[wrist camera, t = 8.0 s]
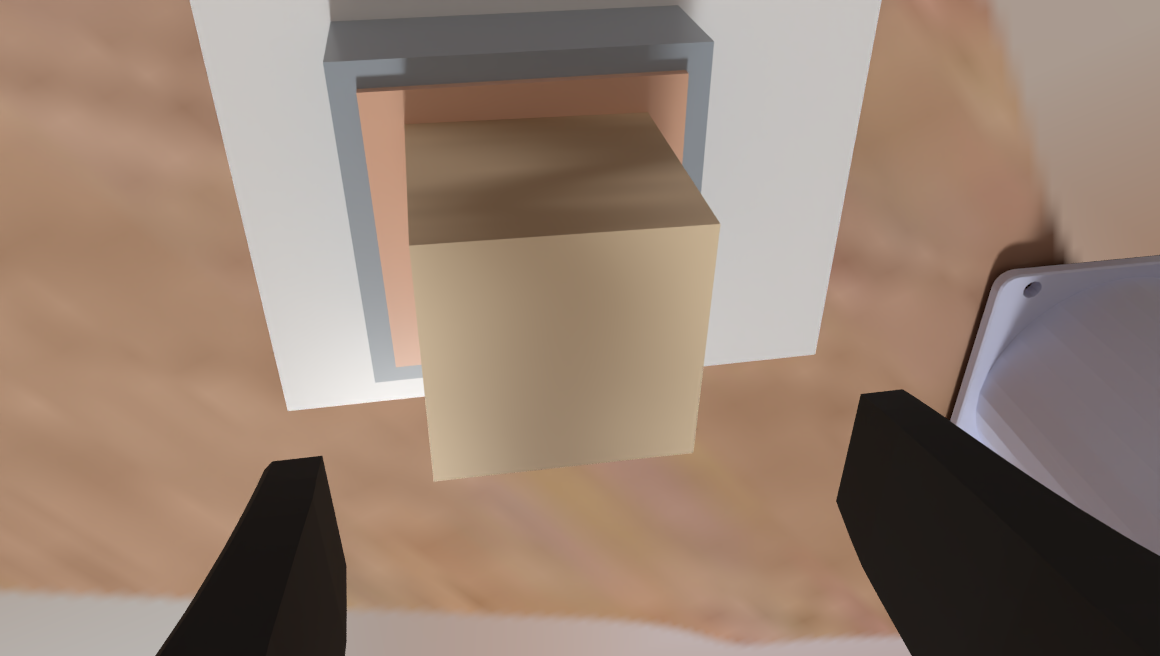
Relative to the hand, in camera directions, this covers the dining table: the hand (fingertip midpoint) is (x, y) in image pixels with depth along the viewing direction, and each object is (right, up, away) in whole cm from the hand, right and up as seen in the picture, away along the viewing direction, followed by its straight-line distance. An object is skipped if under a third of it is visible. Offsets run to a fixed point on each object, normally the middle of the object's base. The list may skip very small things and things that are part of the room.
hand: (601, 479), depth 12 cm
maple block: (-1, +4, +6) cm, 7 cm away
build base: (-1, +6, +9) cm, 10 cm away
